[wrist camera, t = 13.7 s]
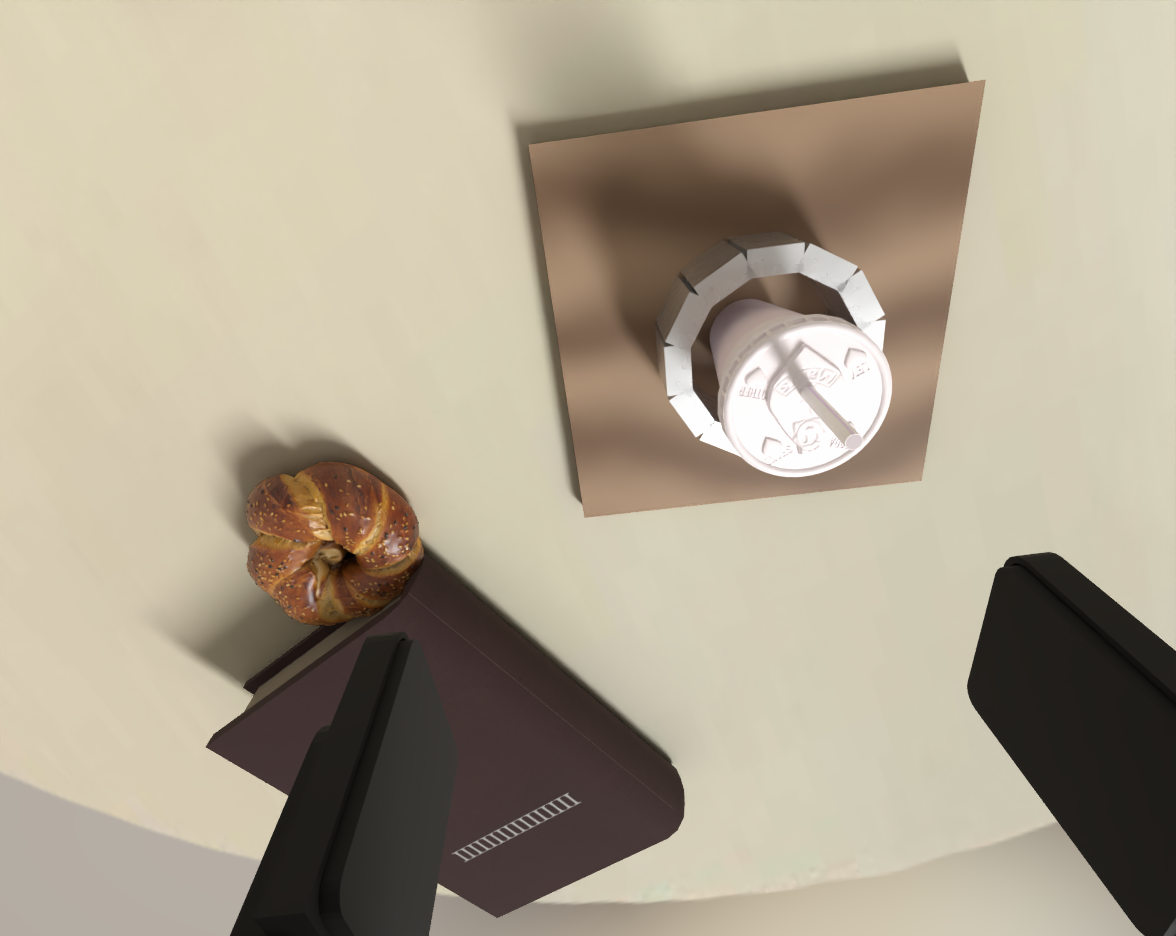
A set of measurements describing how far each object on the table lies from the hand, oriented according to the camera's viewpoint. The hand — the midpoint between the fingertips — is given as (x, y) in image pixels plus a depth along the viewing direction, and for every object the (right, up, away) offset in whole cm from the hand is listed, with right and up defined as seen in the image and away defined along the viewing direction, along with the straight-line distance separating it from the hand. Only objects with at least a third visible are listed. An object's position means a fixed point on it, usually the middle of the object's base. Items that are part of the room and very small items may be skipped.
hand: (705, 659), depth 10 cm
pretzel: (-18, -1, +28) cm, 33 cm away
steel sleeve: (+7, +10, +21) cm, 24 cm away
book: (-11, -17, +37) cm, 42 cm away
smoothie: (+6, +10, +21) cm, 24 cm away
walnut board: (+7, +11, +22) cm, 25 cm away
